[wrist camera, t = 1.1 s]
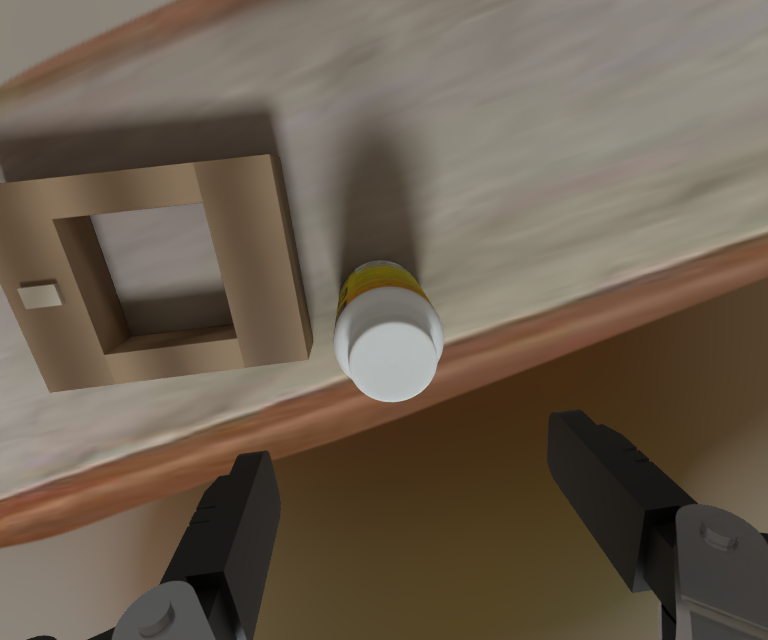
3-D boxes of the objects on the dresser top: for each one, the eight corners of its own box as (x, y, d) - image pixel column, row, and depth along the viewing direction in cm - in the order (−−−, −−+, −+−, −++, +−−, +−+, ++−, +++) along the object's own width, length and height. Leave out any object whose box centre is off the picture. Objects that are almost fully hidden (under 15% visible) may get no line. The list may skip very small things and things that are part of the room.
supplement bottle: (335, 261, 25) (323, 306, 16) (419, 256, 26) (458, 297, 16) (342, 339, 27) (335, 423, 17) (420, 333, 27) (455, 413, 18)
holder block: (279, 158, 23) (268, 153, 20) (313, 341, 27) (307, 361, 24) (6, 188, 22) (-49, 188, 19) (82, 370, 26) (46, 395, 23)
